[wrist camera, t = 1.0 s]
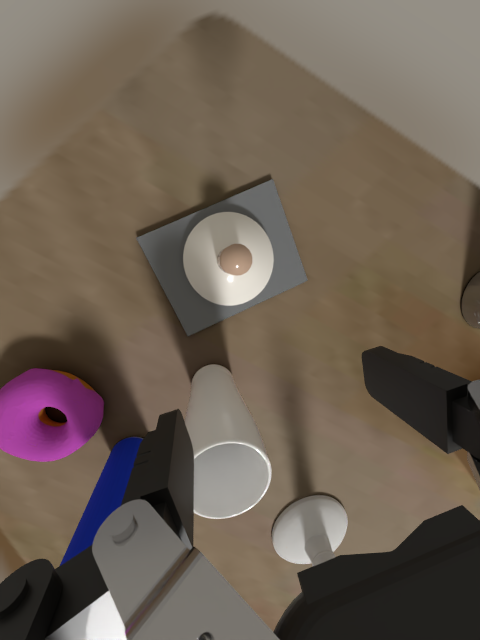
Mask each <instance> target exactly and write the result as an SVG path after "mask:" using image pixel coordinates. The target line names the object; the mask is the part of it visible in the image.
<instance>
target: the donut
mask: <svg viewBox="0 0 480 640" xmlns="http://www.w3.org/2000/svg"><path fill="white" fill-rule="evenodd" d="M45 407H54V408H57V409H59V410H60V411H62V412H63V413H64V414H65V415H66V417H67V422H66V423H58V422H55V421H53V420H51V419H50V418H49V417H48V416H47V414H46V412H45ZM103 408H104V401H103V399H102V397H101V396H100V395H98V394H97V393H96V392H95V391H94V389H93V388H92V387H91V386H90V385H88V384H87V383H86V382H85V381H83V380H81V379H80V378H78V377H76V376H74V375H72V374H70V373H67V372H63V371H57V370H47V369H39V368H33V369H29V370H28V371H26V372H24V373H22V374H21V375H19V376H17V377H16V378H14V379H12V380H11V381H9V382H8V383H7V384H5V385H4V386H3V387H2V388H1V389H0V449H2V450H3V451H5V452H7V453H8V454H11V455H14V456H16V457H19V458H23V459H27V460H31V461H54V460H58V459H61V458H64V457H66V456H68V455H70V454H71V453H73V452H74V451H76V450H77V449H79V448H80V447H81V446H83V445H84V444H85V443H86V442H87V441H88V440H89V439H90V438H91V437H92V436H93V435H94V434H95V433H96V431H97V430H98V428H99V426H100V425H101V422H102V419H103Z"/></svg>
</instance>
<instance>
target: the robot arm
mask: <svg viewBox="0 0 480 640" xmlns="http://www.w3.org/2000/svg"><path fill="white" fill-rule="evenodd" d="M462 313H463V317H464V319H465V320H466V322H467V323H468V324H469V325H471V326H472V327H475V328H479V329H480V272H479V273H477V274H476V275H475V276H474V277H473V278H472V279H471V281H470V282H469V284H468V285H467V287H466V289H465V291H464V294H463V298H462ZM362 363H363V372H364V380H365V386H366V388H367V390H368V392H369V394H370V395H371V396H372V397H373V398H374V399H376V400H377V401H378V402H379V403H381V404H382V405H383V406H385V407H386V408H387V409H389V410H390V411H391V412H393V413H394V414H395V415H397V416H398V417H399V418H401V419H402V420H403V421H405V422H406V423H407V424H409V425H410V426H411V427H413V428H414V429H415V430H417V431H418V432H419V433H421V434H422V435H423V436H425V437H426V438H427V439H429V440H430V441H431V442H433V443H434V444H435V445H437V446H438V447H439V448H440V449H442V450H443V451H444V452H446V453H447V454H449V453H451V452H454V451H457V450H459V449H462V448H463V449H465V450H466V451H467V456H468V457H467V459H468V463H469V465H470V468H471V470H472V472H473V475H474V477H475V480H476V482H477V485H478V487H479V490H480V380H476V381H473V382H471V381H469V380H467V379H464V378H462V377H460V376H457V375H455V374H453V373H450V372H448V371H446V370H443V369H441V368H439V367H434V365H432V364H429V363H427V362H426V363H425V362H424V361H422V360H420V359H418V358H415V357H413V356H409V355H404V354H399V353H397V352H394V351H392V350H390V349H387V348H385V347H383V346H379V347H376V348H372V349H369V350H366V351H364V352H363V353H362ZM136 456H137V457H136V458H135V461H134V464H133V466H134V467H133V468H132V471H131V474H130V477H129V481H128V484H127V487H126V490H125V493H124V497H123V500H122V503H121V506H120V507H119V508H117V509H116V510H115V511H113V512H112V513H111V514H110V515H109V516H108V517H107V518H106V520H105V521H104V522H103V523H102V525H101V526H100V528H99V529H98V531H97V533H96V535H95V538H94V541H93V544H92V545H91V546H89V547H88V548H87V549H85V550H84V551H82V552H81V553H79V554H78V555H76V556H74V557H73V558H71V559H70V560H68V561H67V562H65V563H64V564H62V565H61V566H59V567H58V568H56V569H54V567H53V566H52V564H51V563H50V561H49V560H46V559H37V560H34V561H31V562H29V563H27V564H25V565H24V566H22V567H20V568H19V569H17V570H16V571H15V572H14V573H12V574H11V575H10V576H8V577H7V578H6V579H5V580H4V581H3V582H2V583H1V584H0V640H480V520H478V519H477V518H476V517H475V516H474V515H472V514H471V513H470V512H469V511H468V510H467V509H466V508H465V507H464V506H463V505H461V506H459V507H456V508H454V509H451V510H449V511H447V512H444V513H442V514H439V515H437V516H434V517H432V518H430V519H427V520H425V521H423V522H422V523H421V524H420V525H419V526H418V527H417V528H416V529H415V530H414V531H413V532H412V533H411V534H410V535H409V536H408V537H407V538H406V539H405V540H404V541H403V542H402V543H401V544H400V545H399V546H398V547H397V548H396V549H395V550H393V551H391V552H383V553H368V554H353V555H340V556H337V557H335V558H333V559H330V560H328V561H325V562H323V563H320V564H318V565H316V566H313V567H311V568H308V569H306V570H304V571H301V572H299V573H297V574H298V578H299V582H300V586H301V589H302V592H301V593H300V594H299V595H298V596H297V597H296V598H295V599H294V600H293V601H292V603H291V604H290V605H289V606H288V608H287V609H286V610H285V612H284V613H283V615H282V617H281V618H280V620H279V622H278V623H277V626H276V628H275V630H274V632H272V630H271V629H270V628H269V627H268V626H267V625H266V624H265V623H264V622H263V620H262V619H261V618H260V617H259V616H258V615H257V614H256V613H255V612H254V611H253V609H252V608H251V607H250V606H249V605H248V604H247V603H246V602H245V601H244V599H243V598H242V597H241V596H240V595H239V594H238V593H237V592H236V591H235V589H234V588H233V587H232V586H231V585H230V584H229V583H228V582H227V581H226V579H225V578H224V577H223V576H222V575H221V574H220V573H219V572H218V571H217V569H216V568H215V567H214V566H213V565H212V564H211V563H210V562H209V561H208V559H207V558H206V557H205V556H204V555H203V554H202V553H201V552H200V551H199V550H198V549H197V548H195V547H193V515H194V452H193V446H192V442H191V439H190V436H189V433H188V431H187V428H186V425H185V422H184V419H183V416H182V414H181V411H180V410H179V409H177V410H174V411H171V412H168V413H164V414H161V415H160V416H159V419H158V423H157V427H156V430H154V431H151V432H148V434H147V435H146V436H145V438H144V439H143V440H142V442H141V443H140V445H139V448H138V452H137V455H136Z"/></svg>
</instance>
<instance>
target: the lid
mask: <svg viewBox="0 0 480 640" xmlns="http://www.w3.org/2000/svg"><path fill="white" fill-rule="evenodd" d="M273 262H274V257H273V249H272V245H271V242H270V240H269V238H268V236H267V234H266V233H265V231H264V230H263V229H262V227H261V226H260V225H259V224H258V223H257V222H255V221H254V220H253V219H251V218H249V217H247V216H245V215H243V214H240V213H235V212H220V213H216V214H213V215H210V216H208V217H206V218H205V219H203V220H202V221H200V222H199V223H198V224H197V225H196V226H195V227H194V229H193V230H192V231H191V233H190V234H189V236H188V238H187V241H186V243H185V247H184V253H183V264H184V269H185V273H186V276H187V278H188V280H189V282H190V284H191V285H192V287H193V288H194V289H195V291H196V292H197V293H198V294H200V295H201V296H202V297H203V298H205V299H207V300H208V301H210V302H213V303H215V304H219V305H225V306H233V305H239V304H243V303H245V302H248V301H249V300H251V299H253V298H254V297H256V296H257V295H258V294H259V293H260V292H261V291H262V290H263V289H264V288H265V286H266V284H267V283H268V281H269V279H270V276H271V273H272V269H273Z"/></svg>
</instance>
